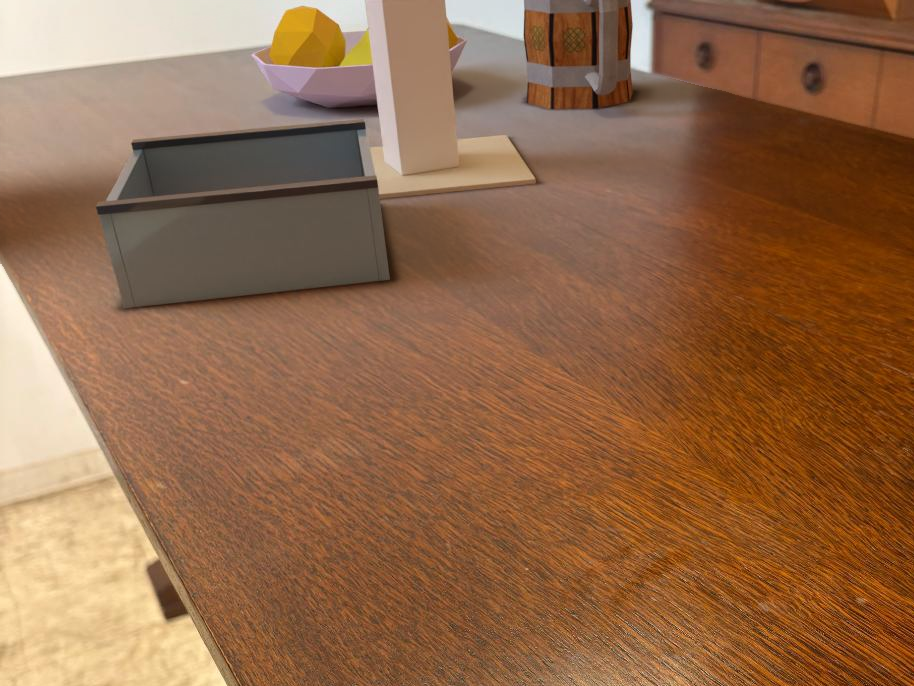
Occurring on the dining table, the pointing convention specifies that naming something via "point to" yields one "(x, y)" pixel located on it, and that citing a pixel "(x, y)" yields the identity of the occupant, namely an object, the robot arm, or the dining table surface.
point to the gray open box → (245, 214)
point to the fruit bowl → (326, 60)
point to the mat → (458, 170)
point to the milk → (413, 84)
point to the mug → (578, 53)
